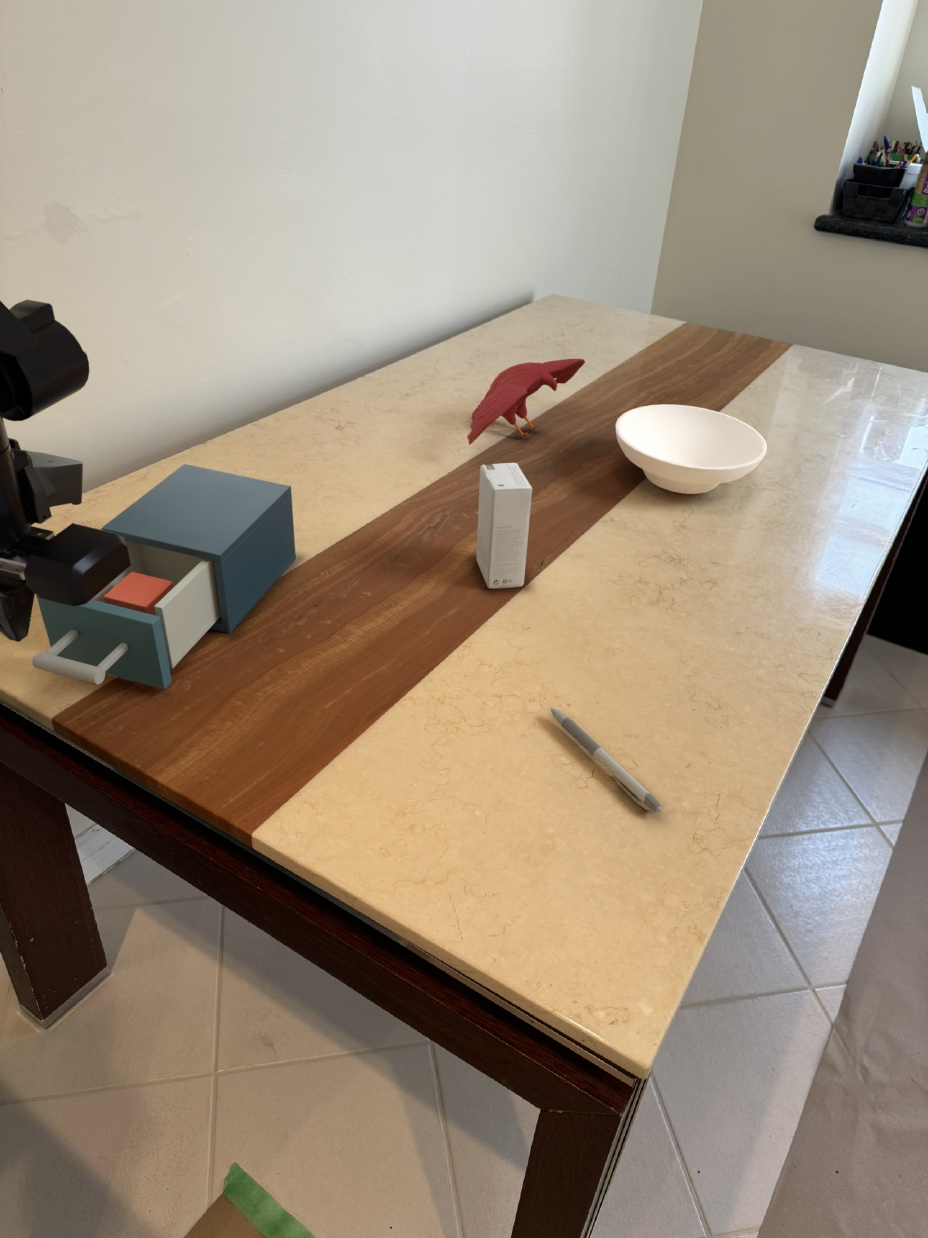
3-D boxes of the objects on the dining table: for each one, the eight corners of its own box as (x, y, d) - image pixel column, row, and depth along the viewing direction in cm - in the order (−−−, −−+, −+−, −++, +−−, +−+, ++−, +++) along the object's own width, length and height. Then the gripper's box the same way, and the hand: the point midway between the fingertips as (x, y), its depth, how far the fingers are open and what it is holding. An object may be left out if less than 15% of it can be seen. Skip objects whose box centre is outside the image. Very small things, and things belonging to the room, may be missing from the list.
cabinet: (230, 633, 85) (220, 555, 80) (117, 605, 88) (100, 527, 83) (296, 558, 97) (291, 485, 91) (194, 535, 99) (184, 463, 94)
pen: (654, 821, 70) (657, 810, 69) (545, 718, 78) (547, 706, 78) (663, 816, 70) (666, 804, 69) (554, 714, 79) (556, 702, 78)
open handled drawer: (132, 726, 73) (116, 659, 69) (16, 693, 76) (-6, 626, 71) (240, 606, 88) (233, 544, 83) (140, 582, 90) (128, 521, 85)
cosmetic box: (525, 587, 95) (537, 488, 88) (485, 590, 94) (494, 490, 87) (510, 556, 100) (520, 460, 93) (472, 559, 99) (479, 462, 92)
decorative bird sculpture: (449, 490, 121) (521, 437, 110) (409, 434, 120) (478, 375, 109) (545, 424, 140) (613, 373, 130) (512, 375, 139) (578, 320, 129)
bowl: (734, 453, 126) (746, 408, 122) (770, 522, 110) (785, 473, 106) (599, 445, 125) (607, 399, 121) (616, 513, 109) (626, 463, 105)
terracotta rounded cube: (153, 645, 80) (145, 607, 78) (111, 635, 81) (102, 596, 78) (179, 619, 84) (173, 581, 81) (139, 609, 84) (131, 571, 82)
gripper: (158, 426, 61) (186, 606, 70) (-64, 381, 65) (-9, 558, 74) (53, 497, 52) (101, 692, 62) (-196, 441, 56) (-116, 633, 65)
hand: (19, 637), depth 66 cm, fingers closed
